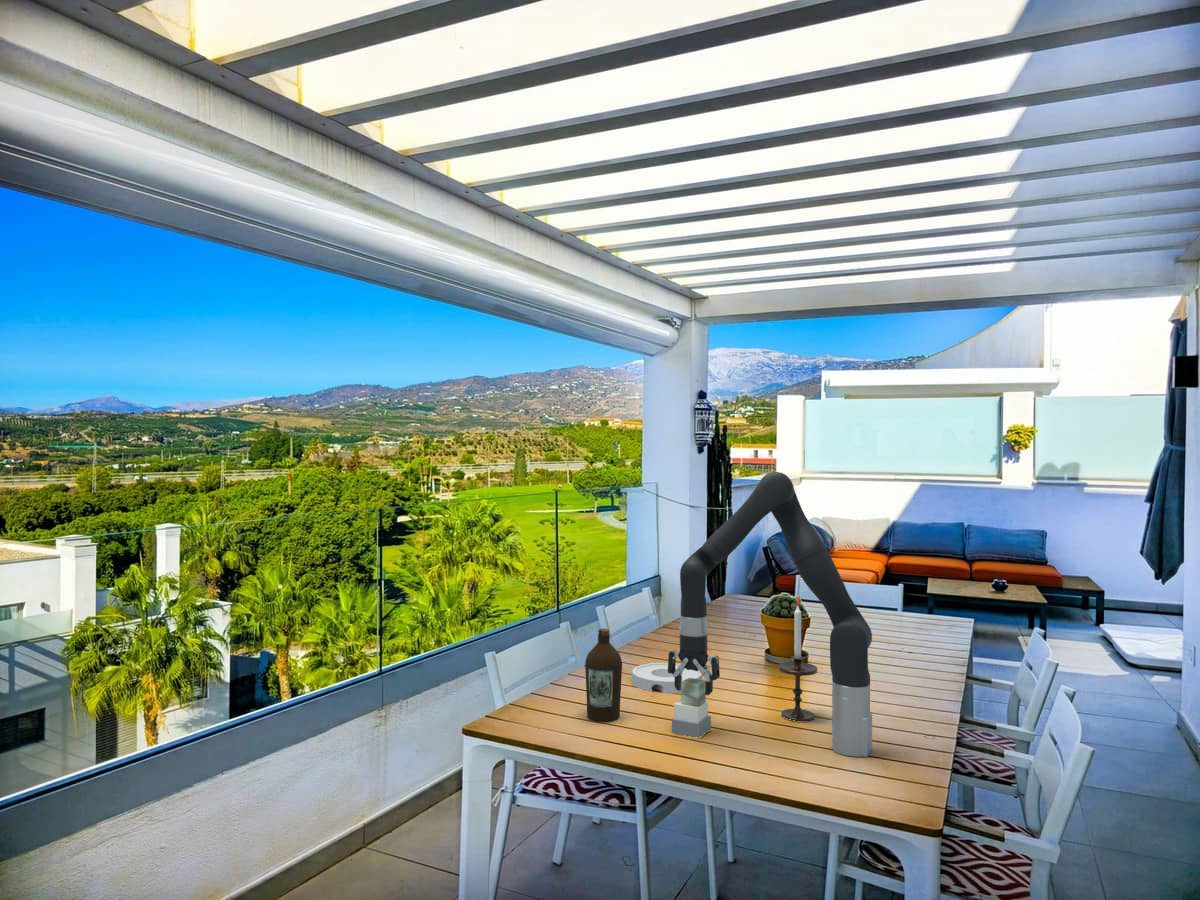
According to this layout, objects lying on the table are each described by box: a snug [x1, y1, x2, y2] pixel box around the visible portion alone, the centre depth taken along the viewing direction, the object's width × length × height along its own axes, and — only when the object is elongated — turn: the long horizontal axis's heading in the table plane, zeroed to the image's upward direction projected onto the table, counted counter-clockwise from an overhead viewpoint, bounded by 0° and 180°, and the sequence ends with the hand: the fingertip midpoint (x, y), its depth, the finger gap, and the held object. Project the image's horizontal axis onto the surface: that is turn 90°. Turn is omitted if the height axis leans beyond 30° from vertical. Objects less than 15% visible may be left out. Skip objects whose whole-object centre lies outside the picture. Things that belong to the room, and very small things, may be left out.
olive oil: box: [584, 628, 623, 723], centre depth 222 cm, size 11×11×25 cm
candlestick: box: [777, 594, 818, 722], centre depth 223 cm, size 11×11×35 cm
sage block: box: [680, 678, 707, 707], centre depth 210 cm, size 5×5×6 cm
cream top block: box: [673, 699, 709, 723], centre depth 211 cm, size 7×7×4 cm
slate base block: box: [671, 715, 712, 739], centre depth 211 cm, size 8×8×4 cm
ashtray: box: [631, 662, 703, 694], centre depth 257 cm, size 23×23×4 cm
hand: (693, 692), depth 210 cm, fingers open, 8 cm apart
